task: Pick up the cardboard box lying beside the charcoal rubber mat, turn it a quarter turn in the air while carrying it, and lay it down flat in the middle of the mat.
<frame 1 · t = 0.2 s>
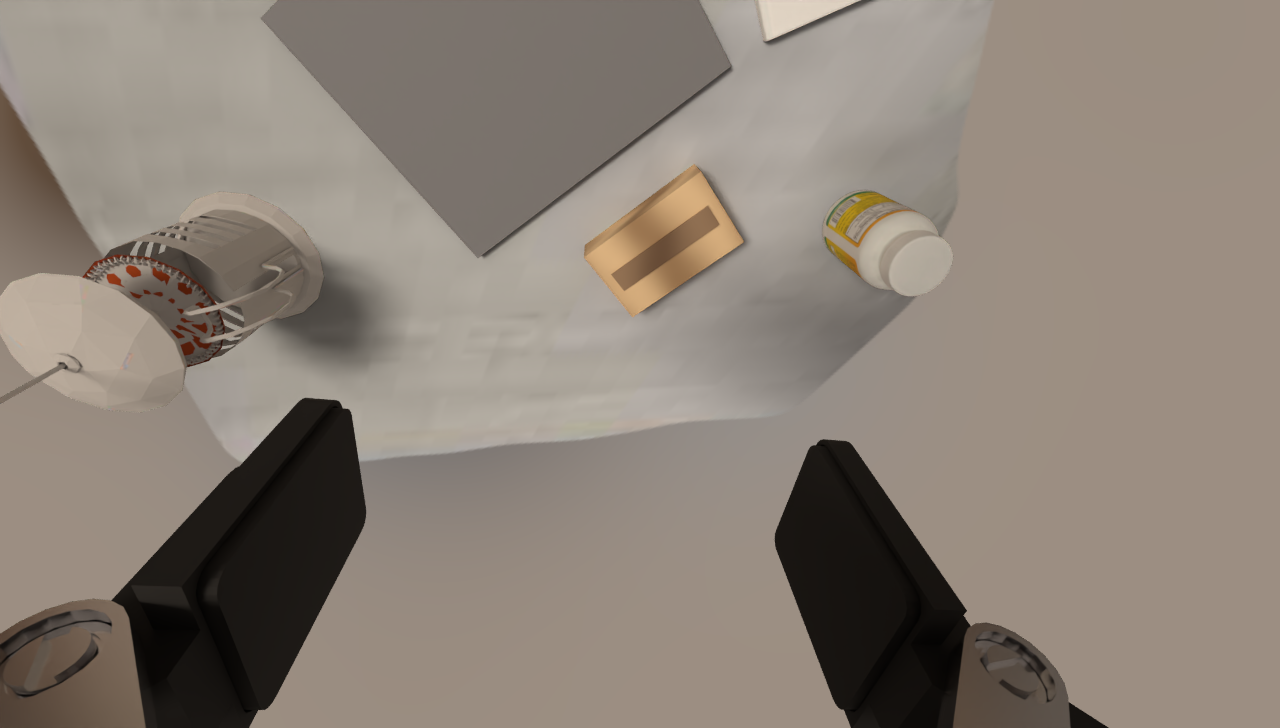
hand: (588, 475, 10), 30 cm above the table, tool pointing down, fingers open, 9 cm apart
french press: (266, 257, 38), on the table
rubber mat: (509, 43, 32), on the table
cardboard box: (659, 236, 39), on the table
supplement bottle: (852, 223, 40), on the table
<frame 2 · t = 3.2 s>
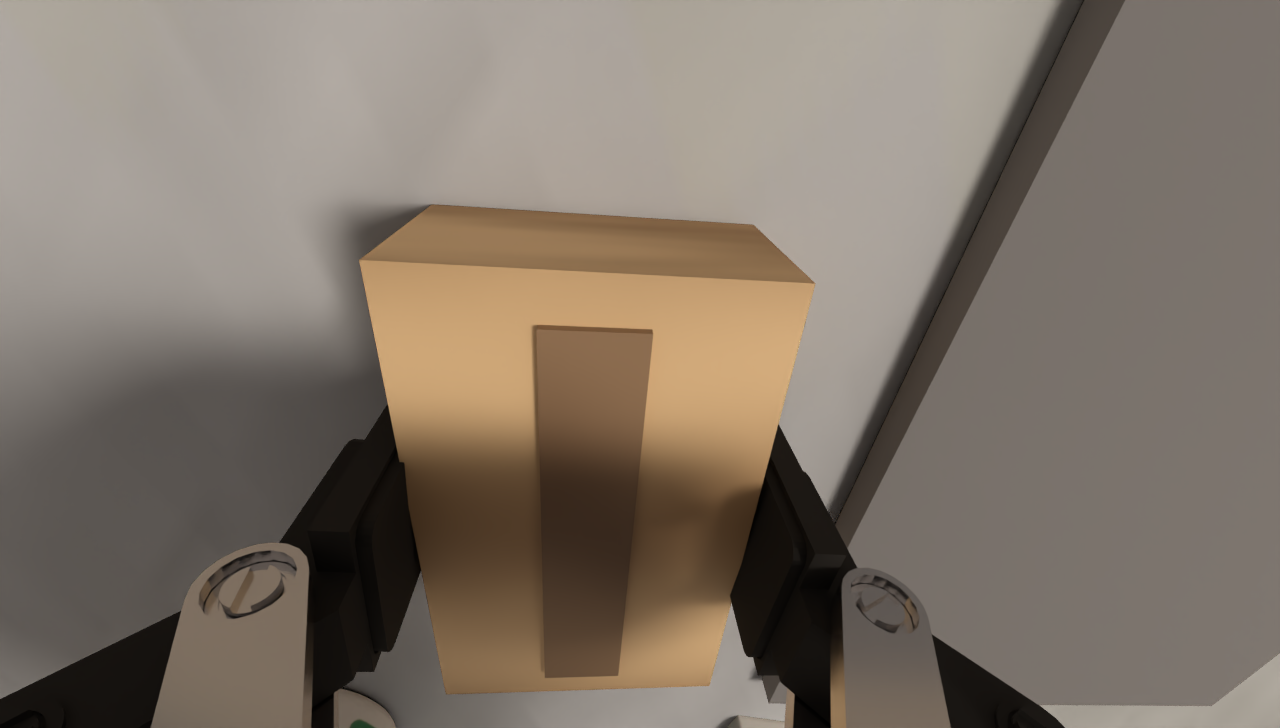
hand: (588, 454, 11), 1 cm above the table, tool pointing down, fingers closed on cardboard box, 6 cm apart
rubber mat: (1187, 453, 14), on the table
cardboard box: (589, 429, 12), on the table, touching gripper
supplement bottle: (320, 716, 17), on the table
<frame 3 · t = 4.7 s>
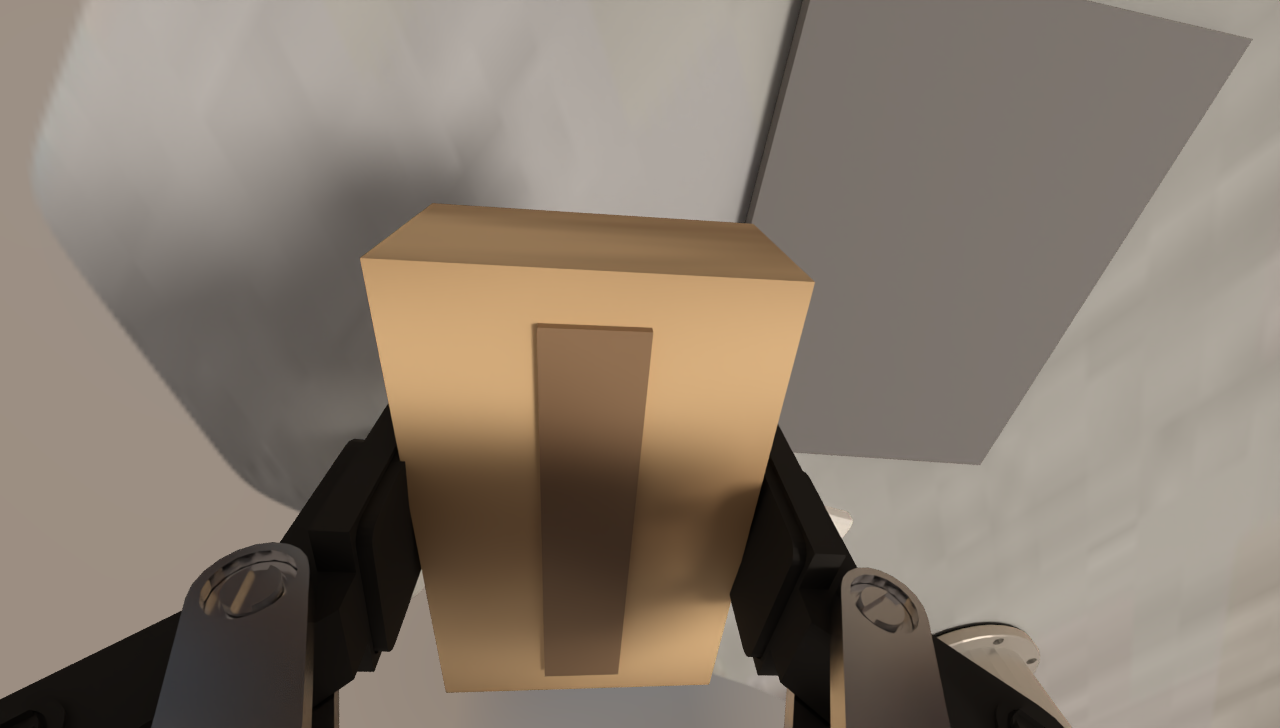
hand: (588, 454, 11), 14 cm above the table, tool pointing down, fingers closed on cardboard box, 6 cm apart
rubber mat: (915, 271, 24), on the table
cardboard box: (589, 428, 12), point 13 cm above the table, touching gripper
external hard drive: (734, 525, 34), on the table
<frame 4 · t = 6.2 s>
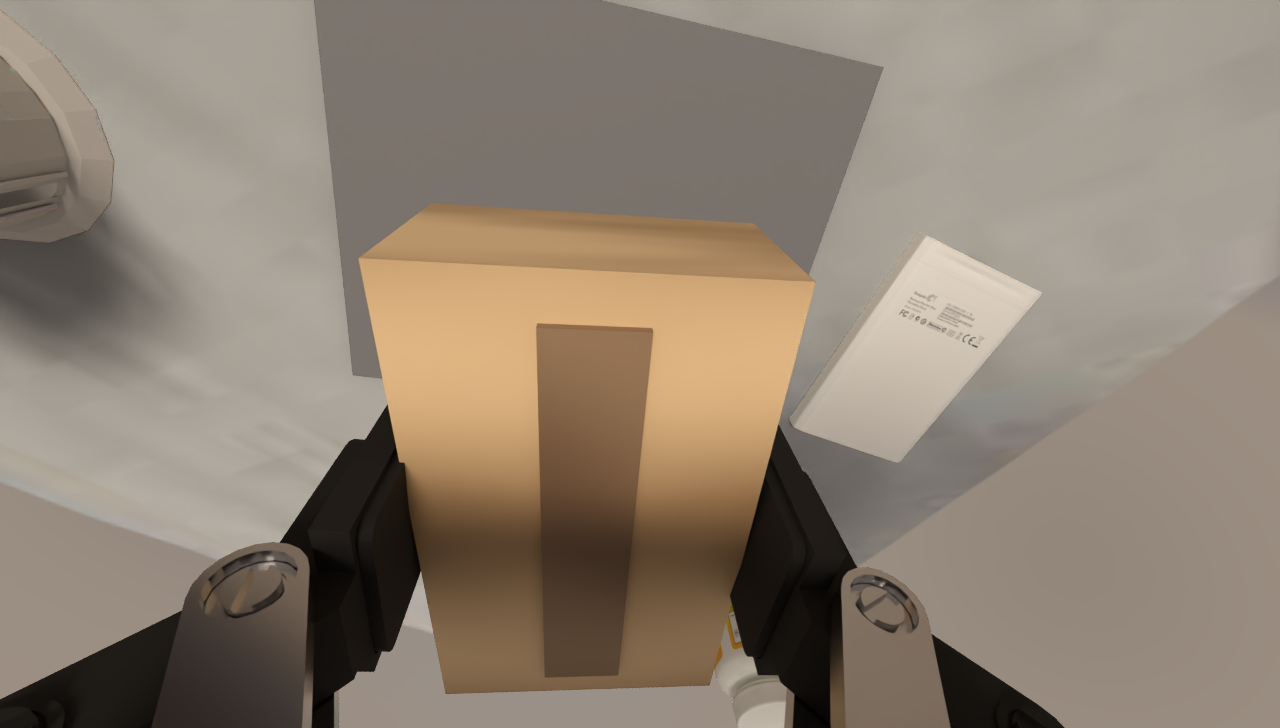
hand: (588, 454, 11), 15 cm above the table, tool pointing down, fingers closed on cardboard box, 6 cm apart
french press: (0, 136, 20), on the table
rubber mat: (589, 233, 24), on the table
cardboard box: (589, 429, 12), point 14 cm above the table, touching gripper
external hard drive: (897, 351, 30), on the table
supplement bottle: (731, 576, 38), on the table
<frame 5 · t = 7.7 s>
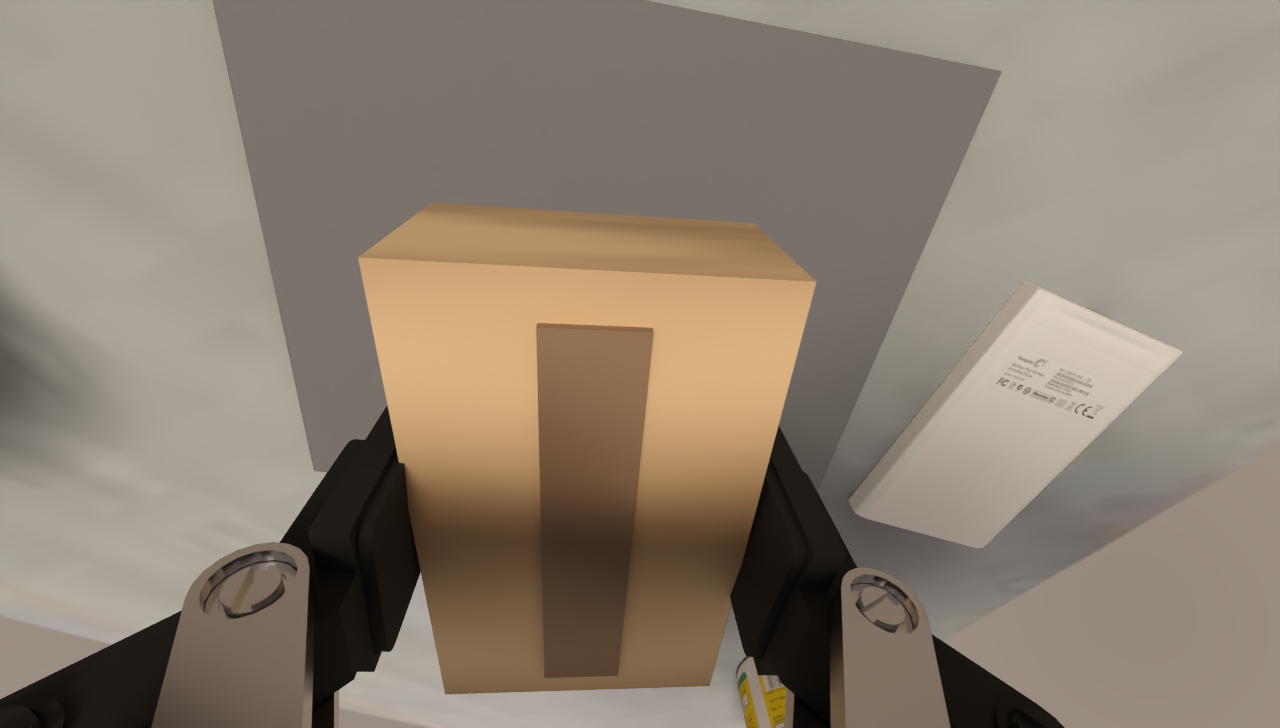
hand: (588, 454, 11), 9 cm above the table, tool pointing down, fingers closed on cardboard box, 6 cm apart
rubber mat: (601, 295, 19), on the table
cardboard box: (589, 429, 12), point 8 cm above the table, touching gripper
external hard drive: (984, 418, 24), on the table
supplement bottle: (774, 664, 32), on the table
when the fingers open (3 cm above the table, at t = 9.2 s): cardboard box drops 1 cm, resting on rubber mat.
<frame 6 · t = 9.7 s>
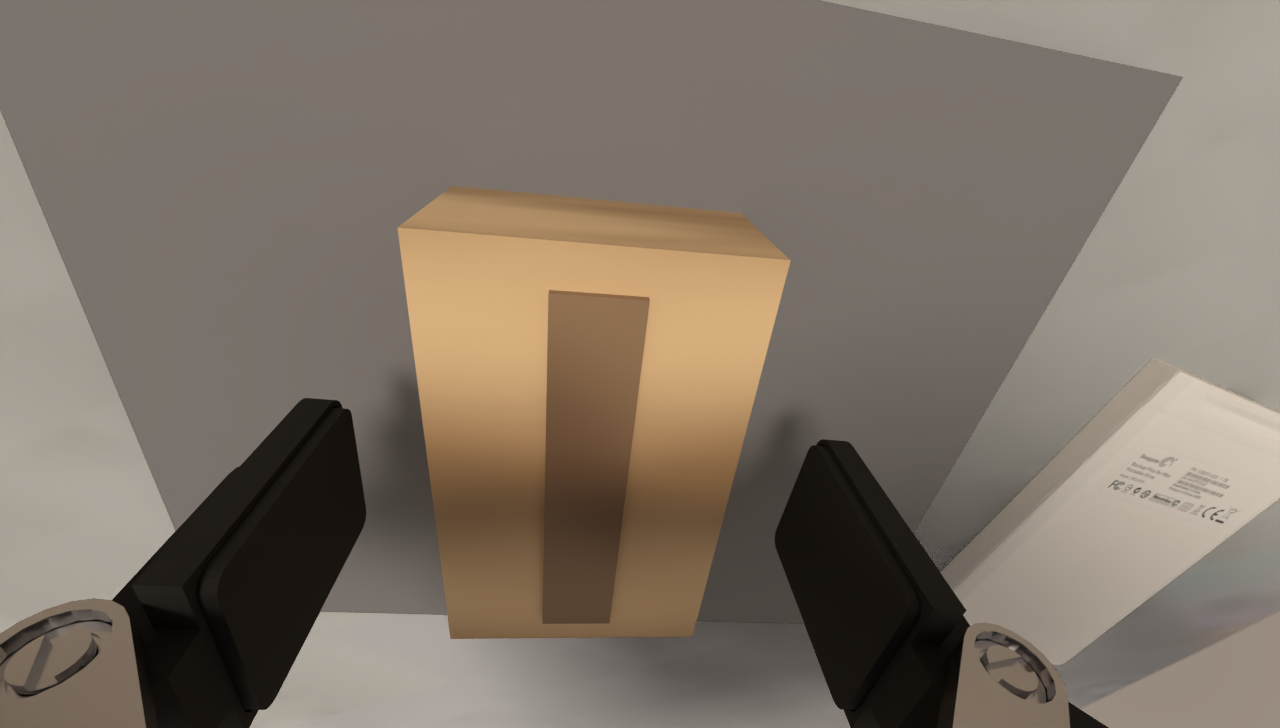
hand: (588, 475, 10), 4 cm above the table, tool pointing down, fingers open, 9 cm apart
rubber mat: (590, 384, 14), on the table
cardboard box: (588, 399, 13), point 1 cm above the table, touching rubber mat
external hard drive: (1073, 514, 19), on the table
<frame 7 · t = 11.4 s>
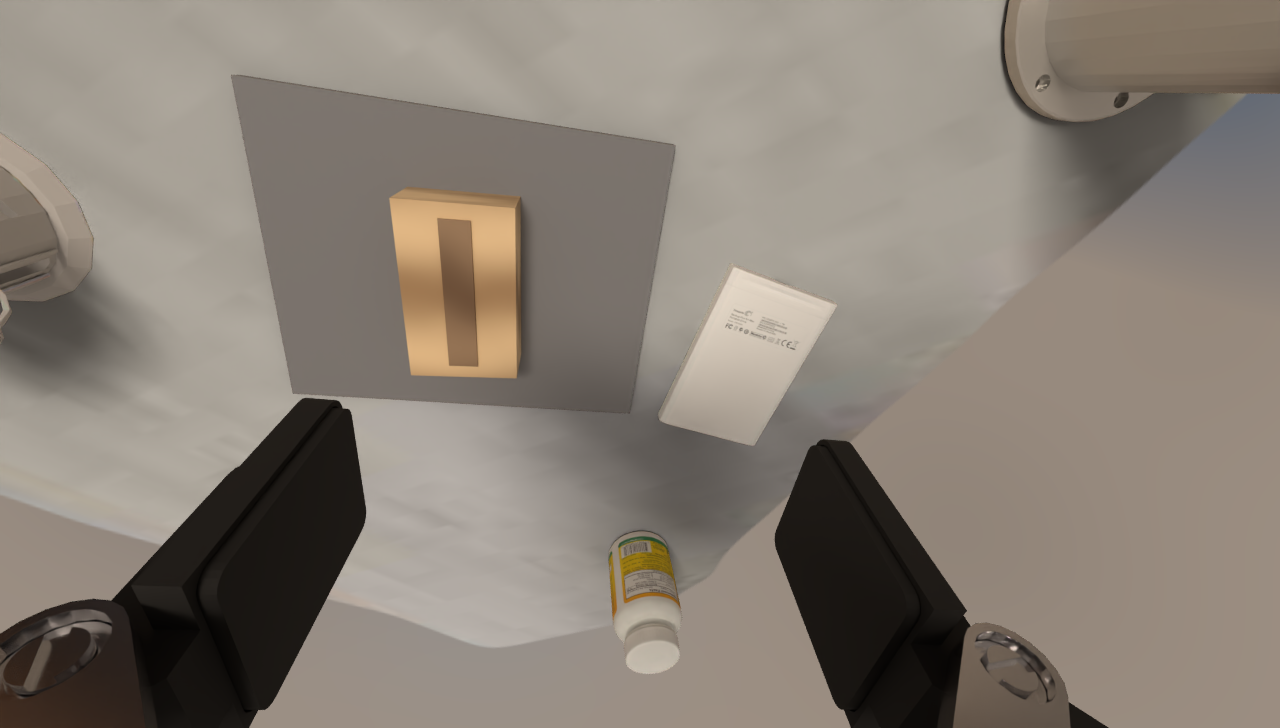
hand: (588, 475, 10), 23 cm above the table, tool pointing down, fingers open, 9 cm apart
french press: (4, 223, 27), on the table
rubber mat: (472, 274, 31), on the table
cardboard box: (469, 278, 30), point 1 cm above the table, touching rubber mat
external hard drive: (738, 355, 37), on the table
supplement bottle: (637, 549, 45), on the table
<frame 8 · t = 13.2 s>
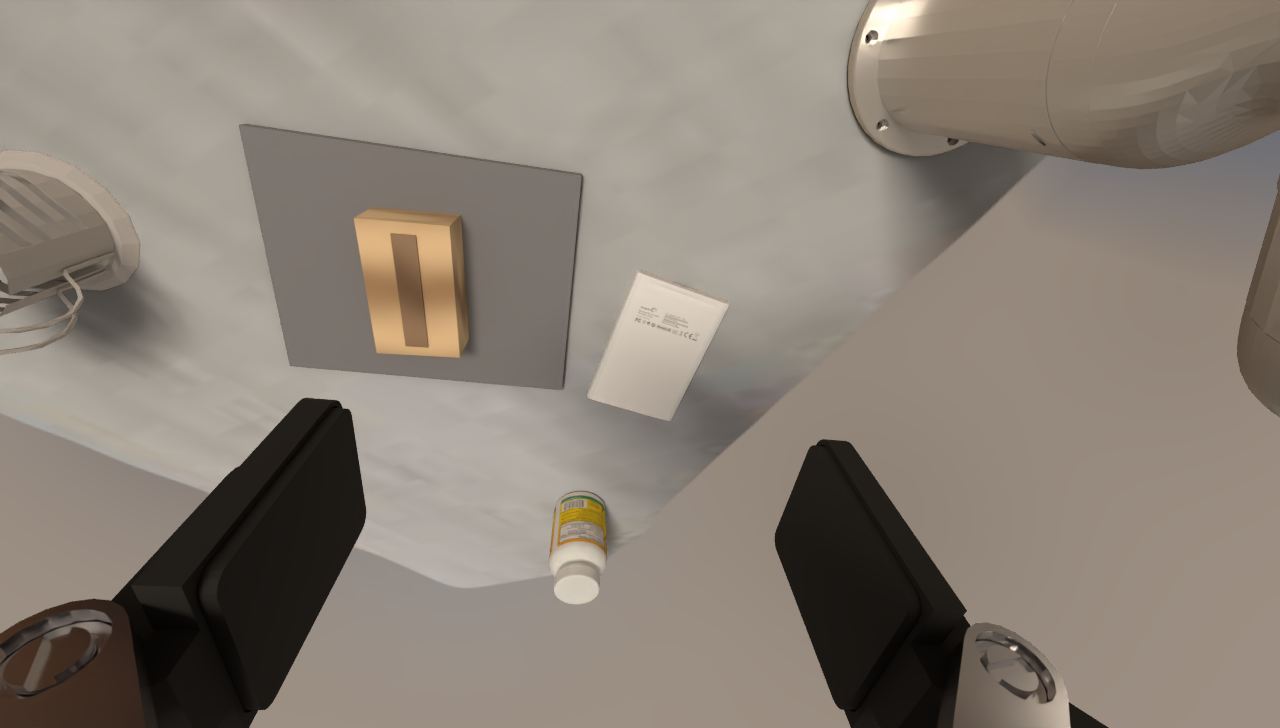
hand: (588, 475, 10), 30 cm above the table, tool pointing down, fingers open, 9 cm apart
french press: (76, 232, 36), on the table
rubber mat: (428, 274, 39), on the table
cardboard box: (424, 277, 38), point 1 cm above the table, touching rubber mat
external hard drive: (654, 344, 44), on the table
supplement bottle: (580, 507, 53), on the table
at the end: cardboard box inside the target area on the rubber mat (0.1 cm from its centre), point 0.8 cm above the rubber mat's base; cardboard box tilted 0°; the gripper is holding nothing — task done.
